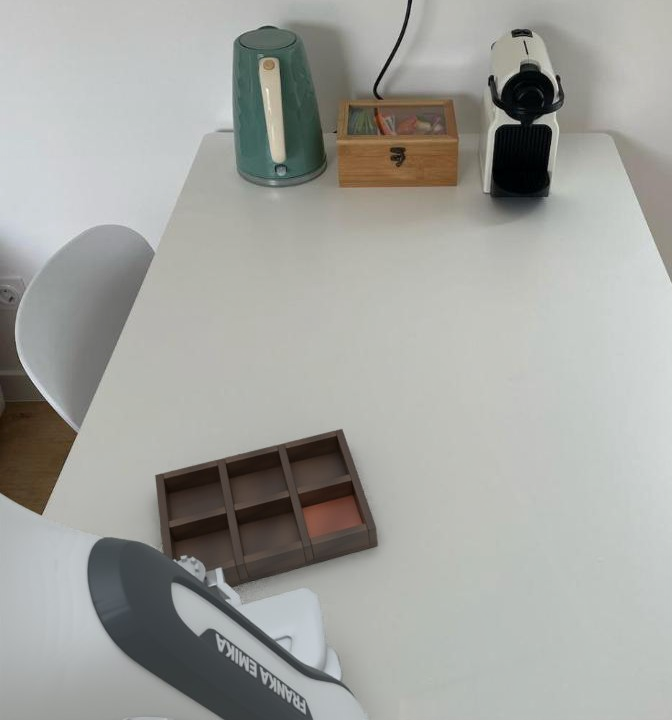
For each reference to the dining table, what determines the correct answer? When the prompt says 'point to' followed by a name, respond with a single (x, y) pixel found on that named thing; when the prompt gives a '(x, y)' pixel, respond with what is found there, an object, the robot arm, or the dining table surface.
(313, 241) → the dining table surface
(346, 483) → the grid
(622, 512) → the dining table surface
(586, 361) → the dining table surface
